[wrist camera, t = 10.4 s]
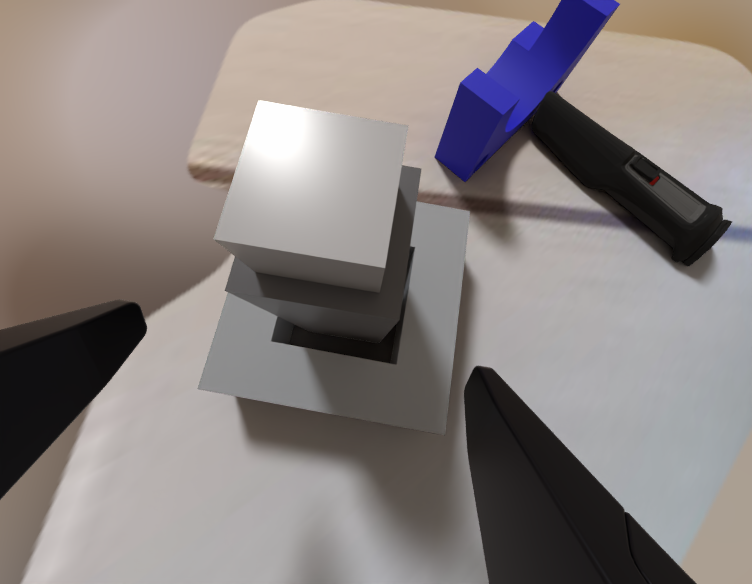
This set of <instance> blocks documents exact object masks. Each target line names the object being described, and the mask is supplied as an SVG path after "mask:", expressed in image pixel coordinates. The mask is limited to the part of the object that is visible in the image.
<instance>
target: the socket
mask: <svg viewBox="0 0 752 584" xmlns="http://www.w3.org/2000/svg"><path fill="white" fill-rule="evenodd" d="M469 217H470V211H465V210H460V209H455V208H449V207H444V206H438V205H433V204H427V203H422V202H416V209H415V216H414V223H413V230H412V237H411V244H410V251H409V258H408V265H407V272H406V279H405V286H404V293H403V300H402V306H401V313H400V320H399V321H398V322H397V326H396V332H395V338H394V344H393V350H392V357H391V363H385V362H379V361H374V360H369V359H363V358H358V357H353V356H347V355H342V354H336V353H331V352H326V351H320V350H315V349H310V348H304V347H299V346H293V345H289V343H290V339H291V335H292V331H293V327H294V324H292V323H290V322H288V321H286V320H284V319H282V318H280V317H278V316H276V315H274V314H272V313H270V312H268V311H266V310H263V309H261V308H259V307H257V306H255V305H253V304H251V303H249V302H247V301H245V300H243V299H241V298H239V297H237V296H235V295H233V294H230V293H228V294H227V297H226V300H225V304H224V307H223V310H222V313H221V316H220V319H219V323H218V326H217V329H216V332H215V335H214V338H213V342H212V345H211V348H210V351H209V354H208V357H207V360H206V364H205V367H204V370H203V373H202V376H201V379H200V383H199V386H198V389H199V390H205V391H210V392H215V393H221V394H226V395H231V396H237V397H242V398H248V399H253V400H258V401H264V402H269V403H274V404H280V405H285V406H290V407H296V408H301V409H306V410H312V411H317V412H322V413H328V414H333V415H338V416H344V417H349V418H354V419H360V420H365V421H371V422H376V423H381V424H387V425H392V426H397V427H403V428H408V429H413V430H419V431H424V432H429V433H435V434H440V435H445V432H446V423H447V414H448V405H449V396H450V387H451V378H452V369H453V360H454V351H455V342H456V333H457V324H458V315H459V306H460V298H461V289H462V280H463V271H464V262H465V253H466V244H467V235H468V226H469Z"/></svg>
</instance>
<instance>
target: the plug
mask: <svg viewBox="0 0 752 584" xmlns="http://www.w3.org/2000/svg"><path fill="white" fill-rule="evenodd" d="M407 131H408V125H402V124H396V123H390V122H384V121H378V120H373V119H367V118H361V117H355V116H349V115H343V114H337V113H331V112H325V111H319V110H313V109H307V108H301V107H295V106H289V105H283V104H277V103H272V102H266V101H260V100H259V101H258V104H257V107H256V110H255V113H254V116H253V119H252V122H251V125H250V128H249V131H248V135H247V138H246V141H245V144H244V147H243V150H242V153H241V156H240V159H239V162H238V165H237V168H236V171H235V174H234V177H233V181H232V184H231V187H230V190H229V193H228V196H227V199H226V202H225V205H224V208H223V211H222V214H221V217H220V221H219V224H218V227H217V230H216V233H215V236H214V240H215V241H216V242H218V243H219V244H220V245H221V246H223V247H224V248H225V249H227V250H228V251H229V252H230V253H232V254H233V255H234V256H235V258H234V262H233V265H232V268H231V272H230V275H229V278H228V282H227V285H226V288H225V291H226V292H228V293H230V294H233V295H235V296H237V297H239V298H241V299H243V300H245V301H247V302H249V303H251V304H253V305H255V306H257V307H259V308H261V309H263V310H266V311H268V312H270V313H272V314H274V315H276V316H278V317H280V318H282V319H284V320H286V321H288V322H290V323H292V324H294V325H296V326H299V327H301V328H303V329H305V330H307V331H309V332H313V333H319V334H325V335H331V336H337V337H343V338H349V339H355V340H361V341H367V342H373V343H379V342H380V341H381V340H382V339H383V338H384V337H385V336H386V335H387V333H388V332H389V331H390V330H391V329H392V328H393V327H394V326H395V325H396V323H397V322H398V321H399V320H400V313H401V306H402V300H403V293H404V286H405V279H406V272H407V265H408V258H409V251H410V244H411V237H412V230H413V223H414V216H415V209H416V202H417V195H418V188H419V181H420V174H421V169H420V168H414V167H408V166H403V165H402V162H403V156H404V150H405V144H406V137H407Z"/></svg>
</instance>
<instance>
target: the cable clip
mask: <svg viewBox="0 0 752 584" xmlns="http://www.w3.org/2000/svg"><path fill="white" fill-rule="evenodd" d="M619 5H620V4H619V3H617V2H616V1H614V0H561V2H560V3H559V5H558V7H557V8H556V10H555V12H554V13H553V15H552V17H551V18H550V20H549V22H548V23H547V25H546V26H545V28H543V27H541V26H540V25H538V24H537V23H536V22H534V21H533V22H532V23H531V24H530V25H529V26H527V27H526V28H525V29H524V30H523V31H522V32H520V33H519V34H518V35H517V36H516V37H515V38H514V39H512V41H511V42H510V44H509V45H508V47H507V48H506V50H505V51H504V52H503V54H502V55H501V56H500V58H499V59H498V60H497V62H496V63H495V64H494V65H493V67H492V68H491V69H490V70H489V71H488V73H487V74H485V73H484V72H482V71H481V70H480V69H478V68H477V69H475V70H474V71H473V72H472V73H471V74H470V75H469V76H467V77H466V78H465V79H464V80H463V81H462V82H460V85H459V88H458V91H457V94H456V97H455V100H454V103H453V106H452V108H451V111H450V114H449V117H448V120H447V123H446V126H445V129H444V132H443V134H442V137H441V140H440V143H439V146H438V149H437V152H436V155H435V158H436V159H437V160H439V161H440V162H441V163H442V164H444V165H445V166H446V167H447V168H448V169H450V170H451V171H452V172H453V173H454V174H456V175H457V176H458V177H459V178H461V179H462V180H463V181H464V182H466V181H467V180H468V179H469V178H470V177H471V176H472V175H473V174H474V173H475V172H476V171H477V170H478V169H479V168H480V167H481V166H482V165H483V164H484V163H485V162H486V161H487V160H488V159H489V158H490V157H491V156H492V155H493V154H494V153H495V152H496V151H497V150H498V149H499V148H500V147H501V146H502V145H503V144H504V143H505V142H506V141H507V140H508V139H509V138H510V137H511V136H512V135H514V134H515V133H516V132H517V131H518V130H519V129H520V128H521V127H522V126H523V125H524V124H525V123H526V122H527V121H528V120H529V119H530V118H531V117H532V116H533V115H534V114H535V113H536V112H537V110H538V108H539V105H540V103H541V101H542V99H543V98H544V96H545V94H546V93H547V92H548V91H552V92H554V93H556V92H557V91H558V90H559V88H560V87H561V85H562V84H563V83H564V81H565V80H566V78H567V77H568V76H569V74H570V73H571V72H572V70H573V69H574V67H575V66H576V65H577V63H578V62H579V60H580V59H581V58H582V56H583V55H584V53H585V52H586V51H587V49H588V48H589V46H590V45H591V44H592V42H593V41H594V40H595V38H596V37H597V35H598V34H599V33H600V31H601V30H602V28H603V27H604V26H605V24H606V23H607V21H608V20H609V19H610V17H611V16H612V14H613V13H614V12H615V10H616V9H617V7H618V6H619Z"/></svg>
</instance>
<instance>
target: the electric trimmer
mask: <svg viewBox="0 0 752 584" xmlns="http://www.w3.org/2000/svg"><path fill="white" fill-rule="evenodd" d="M532 129H533V131H534V132H535V133H536V135H537V136H538V137H539V138H540V139H541V140H542V141H543V142H544V143H545V144H546V145H547V146H548V147H549V148H550V149H551V151H552V152H553V153H554V154H555V155H556V156H557V157H558V158H559V159H560V160H561V161H562V162H563V163H564V164H565V165H566V167H567V168H568V169H569V170H570V171H571V172H572V173H573V174H574V175H575V176H576V177H577V178H578V179H579V180H580V181H581V182H582V183H583V184H584V185H585V186H587V187H589V188H596V189H603V190H605V191H606V192H607V193H608V194H610V195H611V196H612V197H613V198H614V199H615V200H617V201H618V202H619V203H620V204H621V205H623V206H624V207H625V208H626V209H627V210H629V211H630V212H631V213H632V214H633V215H635V216H636V217H637V218H638V219H639V220H641V221H642V222H643V223H644V224H645V225H646V226H648V227H649V228H650V229H651V230H652V231H654V232H655V233H656V234H657V235H658V236H660V237H661V238H662V239H663V240H664V241H666V242H667V243H668V244H669V245H670V246H671V247H672V248H674V254H673V257H672V259H673V260H674V261H675V262H679V261H683V263H684V264H686V265H687V266H690V265H691V264H693V263H694V262H695V261H696V260H698V259H699V258H700V257H701V256H702V255H703V254H705V253H706V252H707V251H708V250H709V249H710V248H711V247H712V246H713V245H714V244H715V243H716V242H717V241H718V240H719V239H720V237H721V236H722V235H723V234H724V233H725V231H726V230H727V229H728V228H729V226H730V225H731V223H732V221H728V220H723V216H722V208H721V207H719V206H717V205H713V204H709V203H708V202H707V201H705V200H704V199H702V198H701V197H700V196H698V195H697V194H696V193H694V192H693V191H691V190H690V189H689V188H687V187H686V186H684V185H683V184H682V183H680V182H679V181H678V180H676V179H675V178H673V177H672V176H671V175H669V174H668V173H667V172H665V171H664V170H662V169H661V168H660V167H658V166H657V165H655V164H654V163H653V162H651V161H650V160H649V159H647V158H646V157H644V156H643V155H642V154H640V153H639V152H637V151H636V150H635V149H633V148H632V147H630V146H629V145H627V144H626V143H624V142H623V141H621V140H620V139H618V138H617V137H616V136H614V135H613V134H611V133H610V132H608V131H607V130H606V129H604V128H603V127H601V126H600V125H599V124H597V123H596V122H595V121H593V120H592V119H590V118H589V117H588V116H586V115H585V114H583V113H582V112H581V111H579V110H578V109H577V108H575V107H574V106H572V105H571V104H570V103H568V102H567V101H566V100H564V99H563V98H561V97H560V96H559V95H557V94H556V93H554V92H552V91H548V92H547V93H546V94H545V96H544V98H543V99H542V101H541V103H540V105H539V108H538V110H537V112H536V115H535V117H534V120H533V124H532ZM722 220H723V221H722ZM688 257H689V258H688Z"/></svg>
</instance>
